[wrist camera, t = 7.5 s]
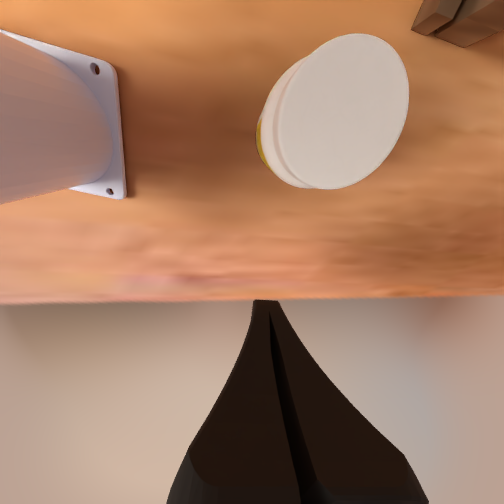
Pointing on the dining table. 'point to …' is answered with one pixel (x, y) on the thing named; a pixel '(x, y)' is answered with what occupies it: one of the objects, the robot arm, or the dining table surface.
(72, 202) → the dining table surface
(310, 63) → the supplement bottle
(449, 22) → the mount
